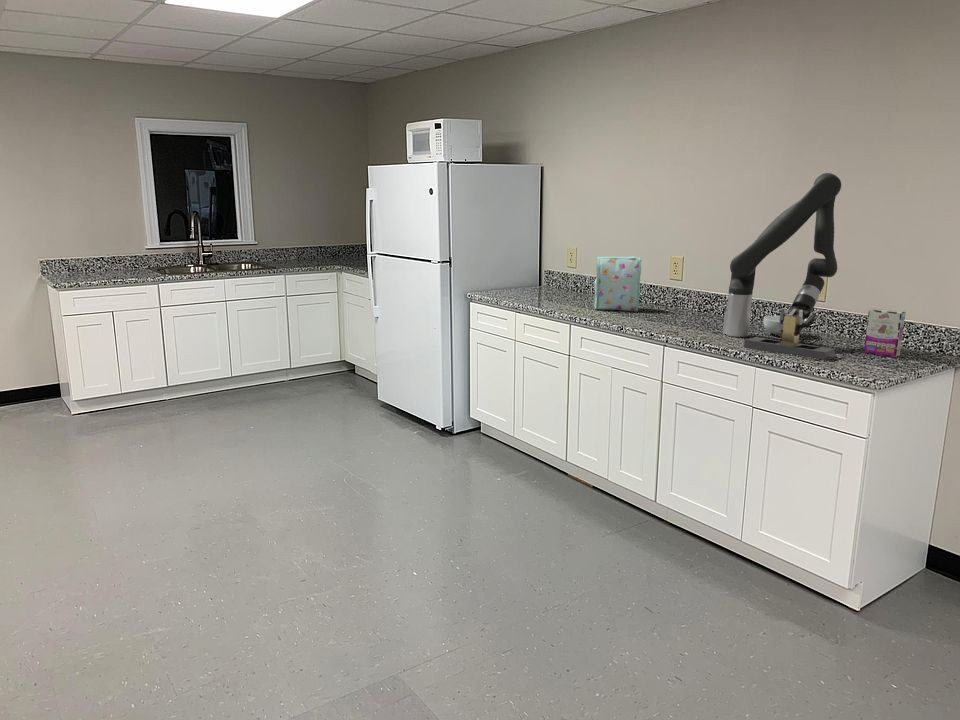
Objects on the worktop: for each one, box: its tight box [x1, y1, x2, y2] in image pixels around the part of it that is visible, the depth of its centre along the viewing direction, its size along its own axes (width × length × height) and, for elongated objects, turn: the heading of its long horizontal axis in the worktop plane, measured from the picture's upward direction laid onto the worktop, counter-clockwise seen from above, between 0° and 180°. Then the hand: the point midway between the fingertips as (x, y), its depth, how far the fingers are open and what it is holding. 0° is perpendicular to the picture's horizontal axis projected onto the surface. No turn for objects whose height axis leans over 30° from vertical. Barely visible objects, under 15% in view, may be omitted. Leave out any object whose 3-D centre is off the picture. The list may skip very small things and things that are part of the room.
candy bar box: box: [863, 308, 906, 358], centre depth 269 cm, size 11×5×16 cm, turn 45°
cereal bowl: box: [763, 315, 807, 337], centre depth 307 cm, size 17×17×7 cm
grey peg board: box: [743, 336, 837, 361], centre depth 271 cm, size 30×9×3 cm, turn 43°
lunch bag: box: [593, 255, 642, 312], centre depth 371 cm, size 23×16×27 cm
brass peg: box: [781, 314, 801, 344], centre depth 280 cm, size 4×4×12 cm
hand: (788, 333), depth 278 cm, fingers closed on brass peg, 4 cm apart
